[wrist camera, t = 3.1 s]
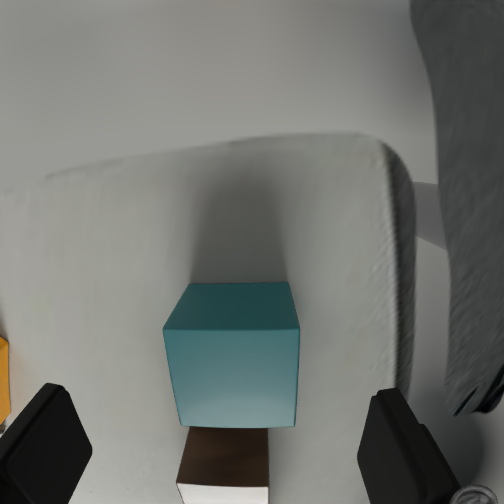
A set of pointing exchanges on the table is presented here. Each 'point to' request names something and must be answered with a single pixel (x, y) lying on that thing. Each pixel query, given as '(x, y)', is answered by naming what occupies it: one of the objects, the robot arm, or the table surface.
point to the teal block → (234, 355)
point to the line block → (225, 466)
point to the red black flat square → (2, 428)
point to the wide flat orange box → (4, 381)
